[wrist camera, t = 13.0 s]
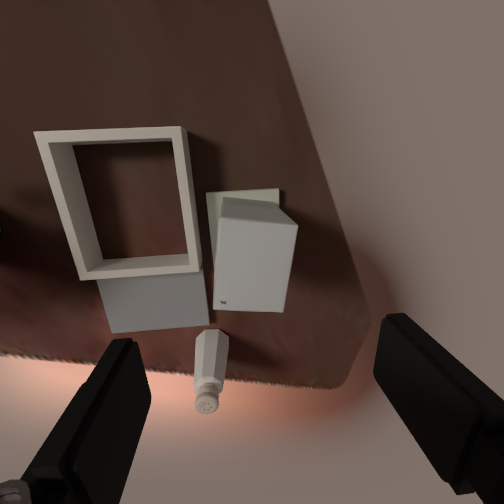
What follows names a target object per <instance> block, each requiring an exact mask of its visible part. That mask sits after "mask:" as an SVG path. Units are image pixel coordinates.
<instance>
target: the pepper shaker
mask: <svg viewBox="0 0 504 504" xmlns="http://www.w3.org/2000/svg"><path fill="white" fill-rule="evenodd" d="M228 350H229V337H228V336H227V335H226V334H224V333H223V332H222V331H221V330H219V329H207V330H204V331H203V332H202V333H201V334H200V335H199V336H198V337H197V338H196V349H195V372H194V388H195V393H196V394H197V395H196V401H195V409H196V410H197V411H198V412H199V413H202V414H210V413H213V412H214V411H216V410H217V408H218V406H219V401H218V399H219V393H220V392H221V391H222V389H223V384H224V377H225V370H226V363H227V356H228Z"/></svg>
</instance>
